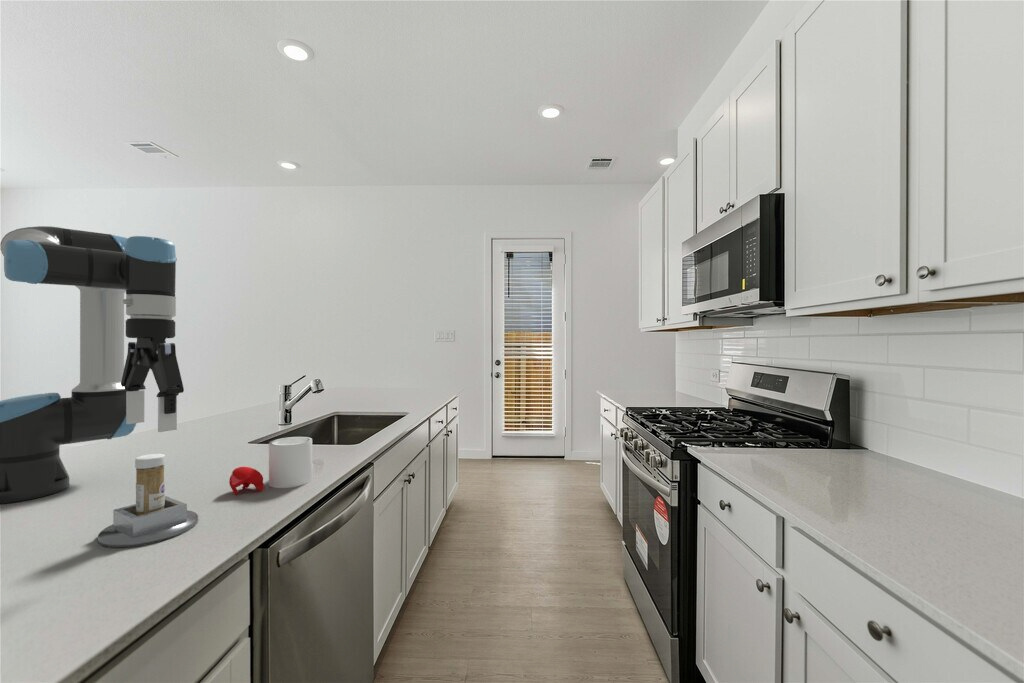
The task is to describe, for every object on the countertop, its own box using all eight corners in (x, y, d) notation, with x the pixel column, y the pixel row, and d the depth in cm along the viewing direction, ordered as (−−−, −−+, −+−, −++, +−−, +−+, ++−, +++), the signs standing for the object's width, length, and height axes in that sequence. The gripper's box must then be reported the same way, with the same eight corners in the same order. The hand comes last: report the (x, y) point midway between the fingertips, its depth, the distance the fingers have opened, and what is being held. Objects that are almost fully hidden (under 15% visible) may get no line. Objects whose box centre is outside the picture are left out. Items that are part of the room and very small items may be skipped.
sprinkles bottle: (163, 525, 86) (163, 456, 86) (133, 531, 83) (133, 460, 83) (166, 517, 90) (166, 451, 90) (137, 522, 87) (137, 454, 87)
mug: (266, 476, 120) (267, 437, 120) (307, 470, 126) (308, 433, 126) (269, 490, 109) (270, 447, 109) (314, 483, 114) (315, 442, 114)
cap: (220, 484, 104) (243, 470, 104) (228, 468, 109) (250, 456, 110) (244, 505, 107) (266, 492, 108) (251, 489, 113) (271, 477, 113)
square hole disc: (84, 535, 84) (84, 512, 84) (176, 509, 97) (176, 489, 97) (118, 555, 76) (118, 529, 76) (212, 524, 89) (212, 502, 89)
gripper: (100, 317, 89) (99, 423, 89) (158, 316, 77) (157, 438, 77) (145, 319, 96) (145, 417, 96) (205, 318, 83) (205, 430, 83)
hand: (150, 426), depth 86 cm, fingers open, 13 cm apart
